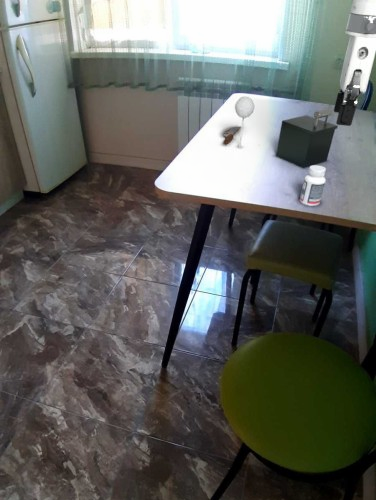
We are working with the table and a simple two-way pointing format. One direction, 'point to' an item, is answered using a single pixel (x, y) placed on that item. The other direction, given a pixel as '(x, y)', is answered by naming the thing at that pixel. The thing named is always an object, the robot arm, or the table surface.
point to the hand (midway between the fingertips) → (341, 118)
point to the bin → (303, 146)
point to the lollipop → (244, 110)
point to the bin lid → (312, 122)
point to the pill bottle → (313, 186)
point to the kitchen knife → (229, 134)
